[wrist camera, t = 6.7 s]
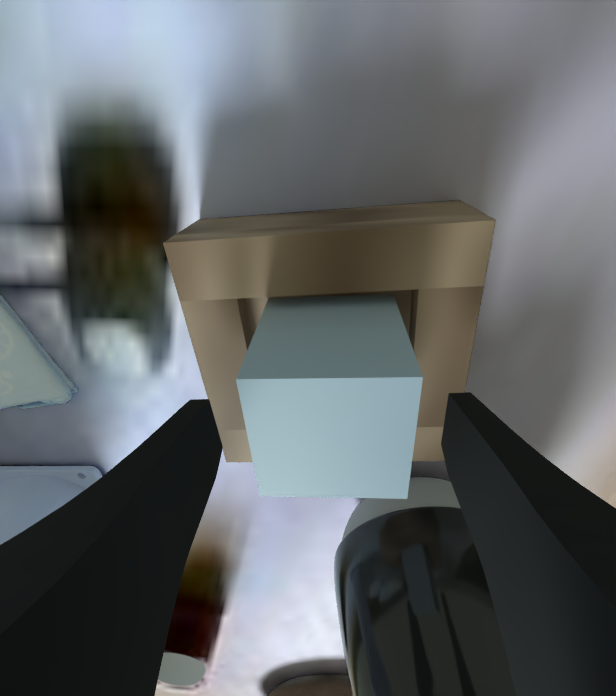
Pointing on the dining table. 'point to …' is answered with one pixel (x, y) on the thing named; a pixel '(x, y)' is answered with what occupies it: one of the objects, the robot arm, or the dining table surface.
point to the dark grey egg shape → (417, 600)
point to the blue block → (331, 398)
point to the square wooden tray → (335, 291)
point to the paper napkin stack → (27, 367)
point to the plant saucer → (314, 686)
